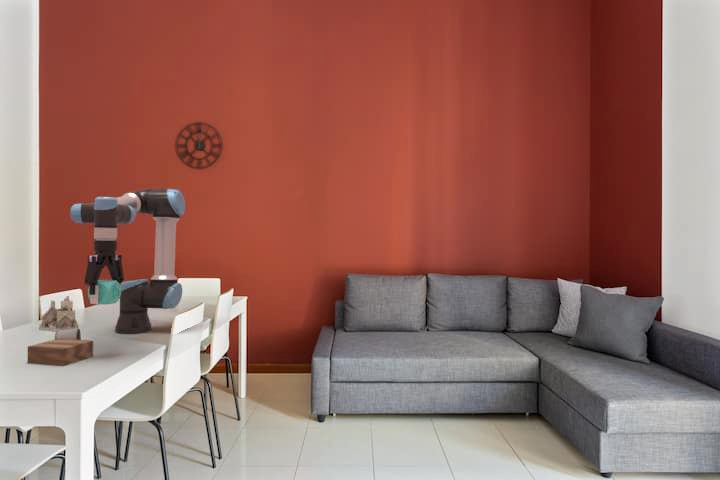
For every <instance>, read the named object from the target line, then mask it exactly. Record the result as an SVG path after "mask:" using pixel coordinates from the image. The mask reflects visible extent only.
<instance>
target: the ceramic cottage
mask: <svg viewBox="0 0 720 480" xmlns="http://www.w3.org/2000/svg"><path fill="white" fill-rule="evenodd" d="M73 302H74V301H73V300H70V297H69V295H66V297H65V298H64V299H63V300H60V308H56V301H55V300H51V301H50V307H49V308H48V310H47V311H45V313H44V314H43V315H41V324H39V327H38V330H40V331H44V332H45V331H46V332H52V331H53V332H54V333H56V332H57V331H60V330H67V329H76V328H79V323H78V322H77V320H76V310H75V309H73V305H74V304H73ZM79 329H80V328H79Z"/></svg>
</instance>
